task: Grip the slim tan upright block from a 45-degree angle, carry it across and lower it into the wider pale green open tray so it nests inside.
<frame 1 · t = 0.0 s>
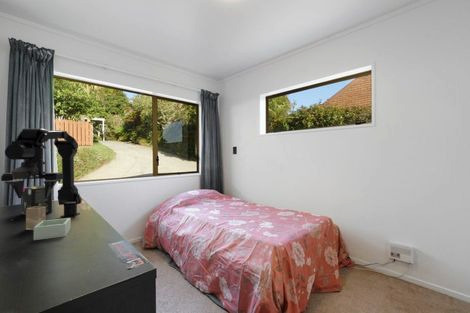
hand: (33, 197, 89), 15 cm above the table, tool pointing down, fingers open, 9 cm apart
tan upright block: (35, 228, 97), on the table
pale green open tray: (53, 234, 89), on the table
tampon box: (37, 213, 121), on the table
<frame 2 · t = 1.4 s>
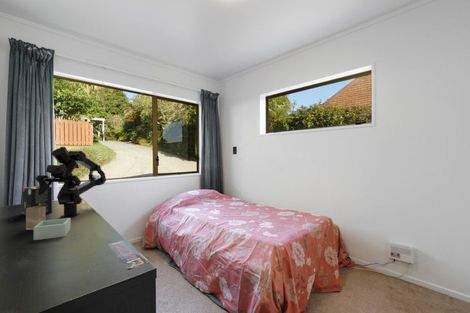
hand: (48, 194, 103), 13 cm above the table, tool tilted 45°, fingers open, 9 cm apart
nothing on the table moved.
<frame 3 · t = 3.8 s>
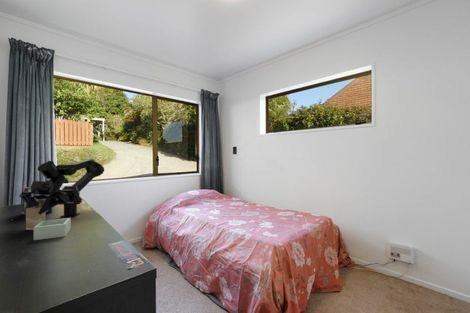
hand: (33, 213, 95), 7 cm above the table, tool tilted 45°, fingers closed on tan upright block, 5 cm apart
tan upright block: (35, 228, 97), on the table, touching gripper
everything else where it was.
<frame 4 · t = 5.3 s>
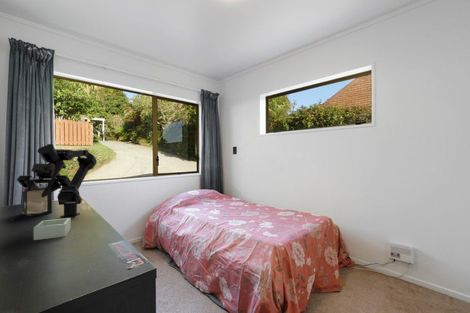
hand: (35, 197, 92), 15 cm above the table, tool tilted 45°, fingers closed on tan upright block, 5 cm apart
tan upright block: (37, 212, 93), point 8 cm above the table, touching gripper
everything else where it was.
when the fingers open (9 cm above the table, at t = 7.1 s): tan upright block drops 2 cm, resting on pale green open tray.
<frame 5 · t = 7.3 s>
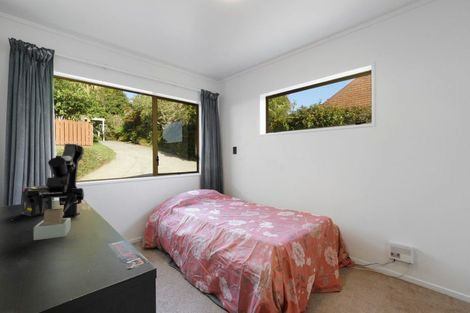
hand: (52, 212, 88), 9 cm above the table, tool tilted 45°, fingers open, 7 cm apart
tan upright block: (53, 232, 89), point 1 cm above the table, touching pale green open tray
everything else where it was.
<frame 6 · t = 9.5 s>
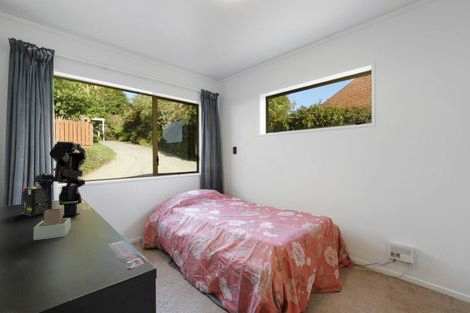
hand: (59, 199, 100), 12 cm above the table, tool tilted 20°, fingers open, 9 cm apart
nothing on the table moved.
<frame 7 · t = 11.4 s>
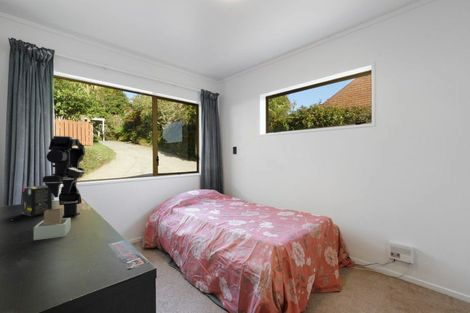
hand: (62, 195, 104), 13 cm above the table, tool pointing down, fingers open, 9 cm apart
nothing on the table moved.
at the end: tan upright block 0.0 cm off-centre on the pale green open tray, point 0.8 cm above the pale green open tray's base; tan upright block tilted 0° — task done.
